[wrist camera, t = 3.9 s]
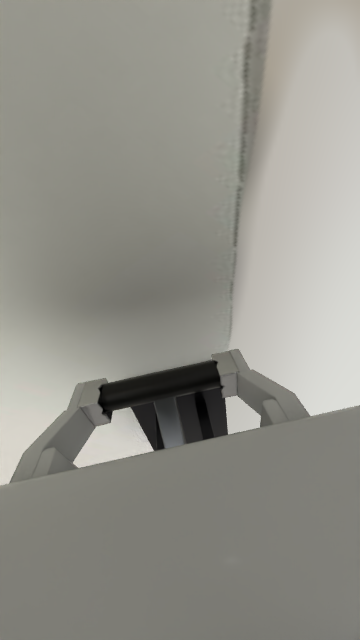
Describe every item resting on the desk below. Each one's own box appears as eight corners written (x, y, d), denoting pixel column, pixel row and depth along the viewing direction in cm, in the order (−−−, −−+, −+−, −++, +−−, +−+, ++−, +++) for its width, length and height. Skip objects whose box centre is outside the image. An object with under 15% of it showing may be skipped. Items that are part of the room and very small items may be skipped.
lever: (110, 376, 12) (94, 395, 10) (210, 354, 12) (219, 368, 10) (166, 590, 14) (164, 653, 11) (254, 570, 14) (271, 628, 11)
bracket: (123, 381, 19) (84, 687, 7) (219, 360, 19) (327, 630, 7) (155, 442, 25) (159, 652, 14) (225, 427, 26) (286, 622, 14)
